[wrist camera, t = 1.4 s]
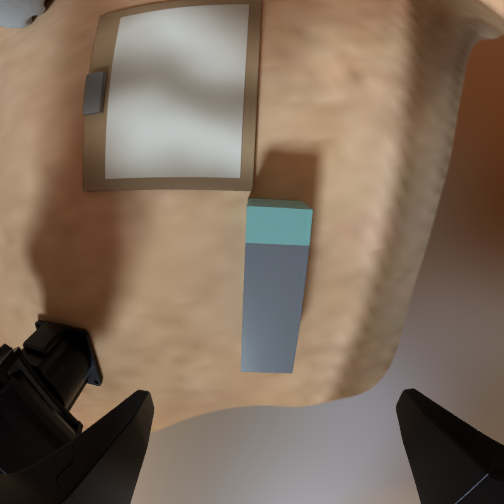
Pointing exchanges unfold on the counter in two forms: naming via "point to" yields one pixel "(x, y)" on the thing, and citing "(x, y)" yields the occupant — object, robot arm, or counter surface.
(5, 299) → the counter surface
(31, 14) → the bottle
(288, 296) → the teal-capped grey block
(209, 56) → the clipboard
